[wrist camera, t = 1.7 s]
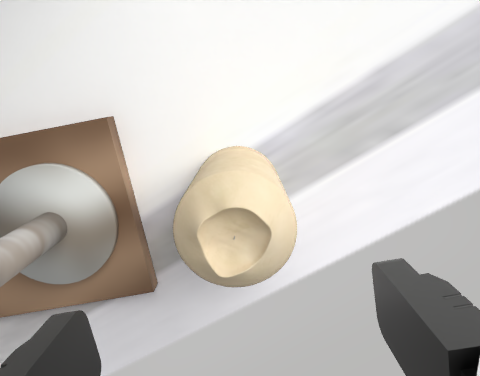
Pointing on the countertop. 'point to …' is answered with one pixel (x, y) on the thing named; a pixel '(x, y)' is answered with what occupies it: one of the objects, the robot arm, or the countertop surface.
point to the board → (69, 220)
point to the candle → (235, 220)
